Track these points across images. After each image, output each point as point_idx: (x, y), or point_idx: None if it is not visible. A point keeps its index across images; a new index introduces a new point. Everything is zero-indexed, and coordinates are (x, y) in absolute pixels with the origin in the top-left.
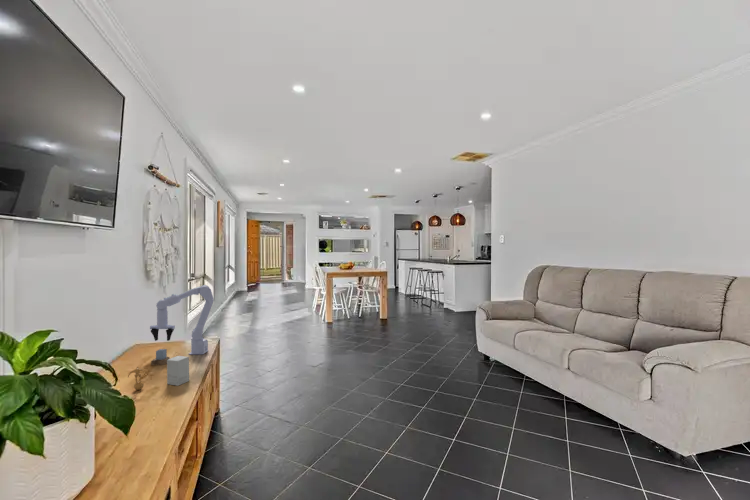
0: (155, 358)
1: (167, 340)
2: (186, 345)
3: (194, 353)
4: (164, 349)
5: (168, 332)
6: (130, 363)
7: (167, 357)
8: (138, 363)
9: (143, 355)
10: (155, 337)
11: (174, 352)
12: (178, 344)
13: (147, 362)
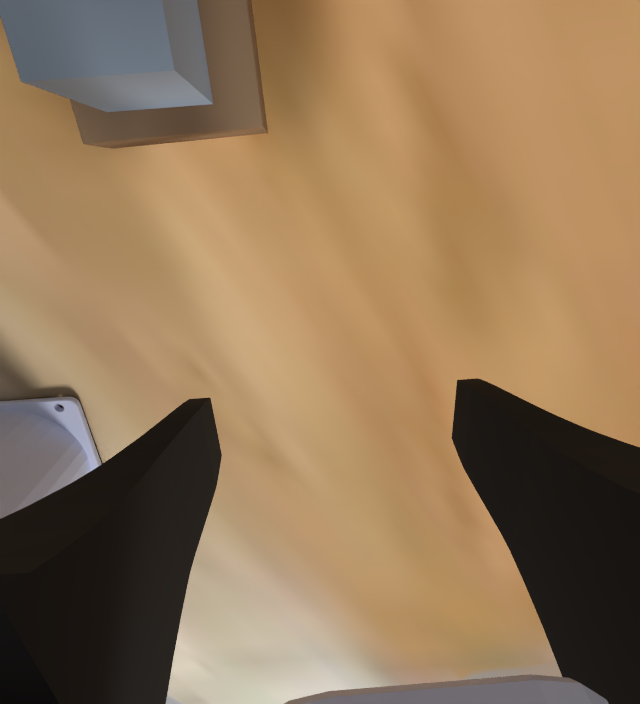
0: (247, 42)
1: (200, 400)
2: (311, 615)
3: (6, 411)
4: (44, 48)
5: (3, 533)
6: (591, 7)
7: (91, 109)
8: (478, 12)
9: (564, 343)
10: (496, 412)
11: (289, 451)
12: (397, 628)
13: (375, 69)
